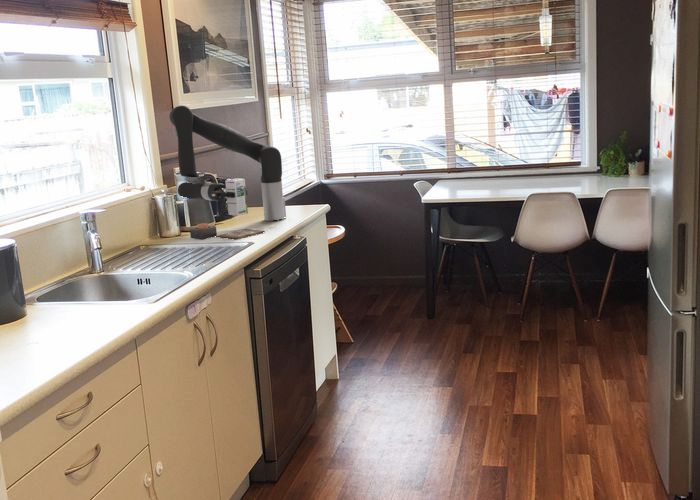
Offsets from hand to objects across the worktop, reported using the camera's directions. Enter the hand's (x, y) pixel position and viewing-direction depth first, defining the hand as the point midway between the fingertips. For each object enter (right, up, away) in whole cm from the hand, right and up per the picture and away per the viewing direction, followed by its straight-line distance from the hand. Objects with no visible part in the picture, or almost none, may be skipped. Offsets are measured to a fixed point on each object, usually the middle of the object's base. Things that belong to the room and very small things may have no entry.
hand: (240, 194), depth 312 cm
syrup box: (-1, -8, +3) cm, 9 cm away
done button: (-16, -15, +5) cm, 23 cm away
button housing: (-16, -17, +5) cm, 24 cm away
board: (-1, -17, +5) cm, 17 cm away
